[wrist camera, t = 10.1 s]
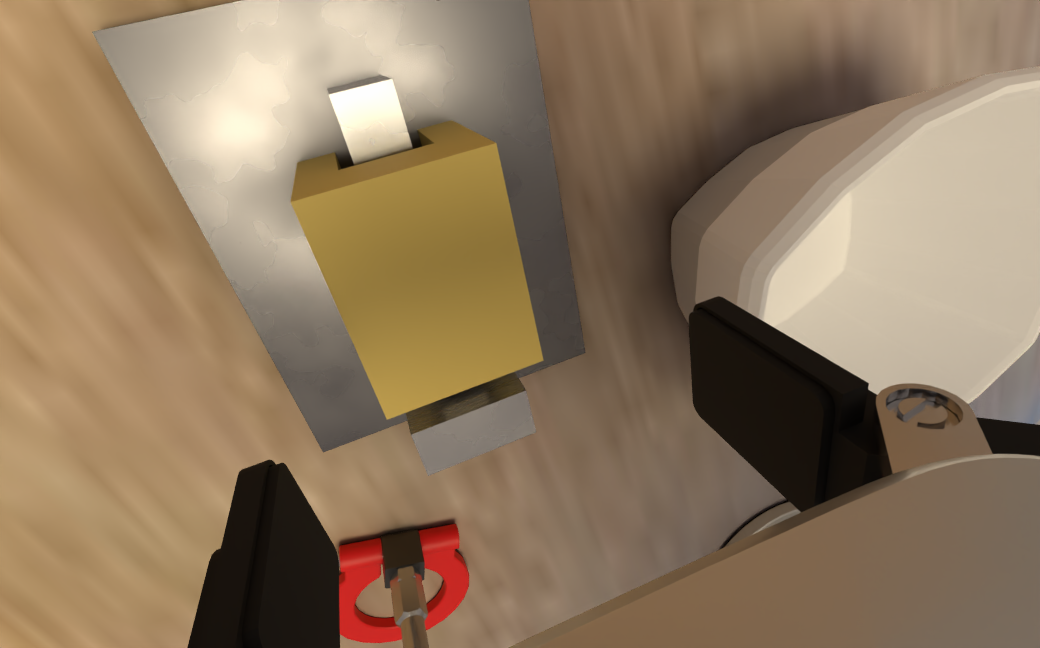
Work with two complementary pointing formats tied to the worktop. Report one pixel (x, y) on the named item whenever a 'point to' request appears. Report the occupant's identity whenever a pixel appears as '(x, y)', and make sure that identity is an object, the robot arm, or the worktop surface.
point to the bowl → (885, 235)
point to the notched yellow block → (422, 265)
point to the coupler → (355, 140)
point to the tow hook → (401, 584)
